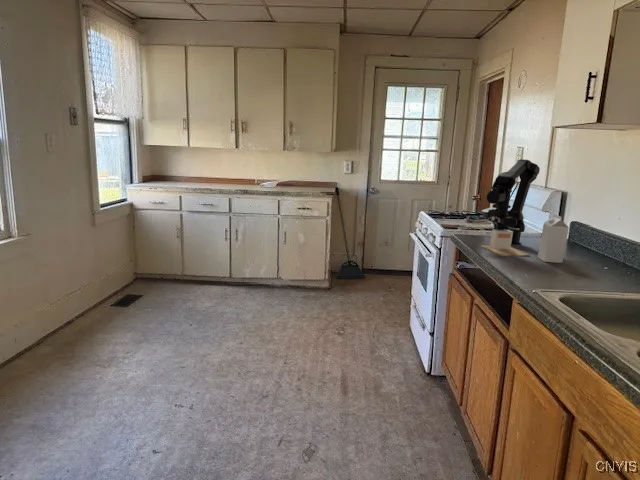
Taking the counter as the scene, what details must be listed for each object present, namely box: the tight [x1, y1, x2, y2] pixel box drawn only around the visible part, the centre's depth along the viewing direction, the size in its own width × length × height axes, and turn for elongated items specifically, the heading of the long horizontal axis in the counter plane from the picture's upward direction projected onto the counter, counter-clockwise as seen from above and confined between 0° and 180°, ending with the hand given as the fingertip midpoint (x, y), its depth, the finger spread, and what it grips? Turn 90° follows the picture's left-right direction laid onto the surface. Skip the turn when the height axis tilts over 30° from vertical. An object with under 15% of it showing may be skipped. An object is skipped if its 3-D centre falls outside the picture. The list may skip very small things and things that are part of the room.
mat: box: [480, 244, 531, 257], centre depth 193 cm, size 14×16×1 cm
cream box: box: [489, 228, 513, 249], centre depth 195 cm, size 8×4×8 cm, turn 98°
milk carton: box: [537, 213, 570, 264], centre depth 179 cm, size 7×7×19 cm
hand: (497, 236), depth 199 cm, fingers closed
